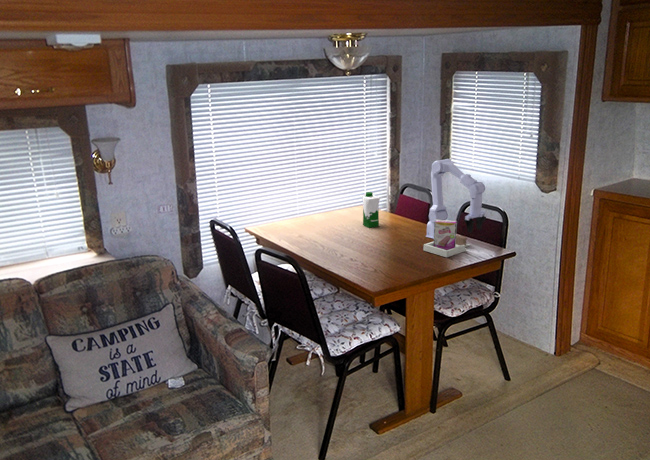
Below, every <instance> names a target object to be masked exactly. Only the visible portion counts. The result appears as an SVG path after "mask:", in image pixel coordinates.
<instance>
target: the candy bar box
mask: <svg viewBox="0 0 650 460" xmlns="http://www.w3.org/2000/svg"><path fill="white" fill-rule="evenodd" d="M457 228H458V221H457V220H450V219H446V220H438V219H436V220H435V227H434V239H433V241H434V247H437V248H440V249H444V250H449V249H452V248H455V247H456V236H457V230H458V229H457Z"/></svg>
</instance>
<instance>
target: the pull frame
mask: <svg viewBox="0 0 650 460" xmlns="http://www.w3.org/2000/svg"><path fill="white" fill-rule="evenodd" d="M467 239H468V238H467V237H465V236H461V235H457V234H456V247H455V248H452V249H449V250H444V249H440V248H437V247H434V240H433V241H431V242H427V243H424V244H423V251H424V252H428V253H431V254H433V255H434V254H435V255H438V256H441V257H443V258H444V257H445V258H449V257H452V256H455V255H458V254H460V253H463V252H466V251H467V248H466V247H469V246H471V244H470V243H467Z"/></svg>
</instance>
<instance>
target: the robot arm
mask: <svg viewBox="0 0 650 460" xmlns="http://www.w3.org/2000/svg"><path fill="white" fill-rule="evenodd" d="M446 173H450V174H452V175H453V176H455V177H456V178H458V179H459V181H460V183H461V184H462V185H463V186H464V187H466V189H468V192H469V196H470V202H469V203H470V205H469V213H468V214H467V215H465V216H464V219H463V222H464V223H465V225H466V229H467V233H469V234H473V229H474V224H475V223H476V225H475V226H476V230H479V231H481V230H482V228H483V224H484V222H485V221H486V219H487V216H486V211H483V210H482V206H483V194H484V193H485V191H486V187H485V184H484V183H483V181H478V180H476V179H475V178H473V176H472V175H471V174H470V173H464V172H463V171H461V169H460V168H459V167H458V166H456V165H455V162H454V161H452V160H451V159H449V158H445V159H440V160H439V159H438V160H435V161H433V162H432V164H431V172H430V179H431V194H432V196H431V197H432V206H431V207H430V208H429V214H428V220H429V221H428V222H427V224H426V235H425V237H426V238H430V239H433V240H434V227H435V220H436V219H438V220H448V217H449V213H448V211H447V206H445V205H444V198H443V183H442V176H444V174H446ZM473 219H475V220H473Z"/></svg>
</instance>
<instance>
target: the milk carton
mask: <svg viewBox="0 0 650 460" xmlns="http://www.w3.org/2000/svg"><path fill="white" fill-rule="evenodd" d="M380 199H381V197H380V196H378V195H374V194H373V192H371V191H367V192H365V195H363V196H362V203H363V205H362V206H363V207H362V209H363V210H362V216H363V218H362V226H363V225H364V227H366V228H368V229H373V228H377V226H379V227H380V219H379V211H380V210H379V208H380V207H379V206H380ZM372 227H373V228H372Z"/></svg>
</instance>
